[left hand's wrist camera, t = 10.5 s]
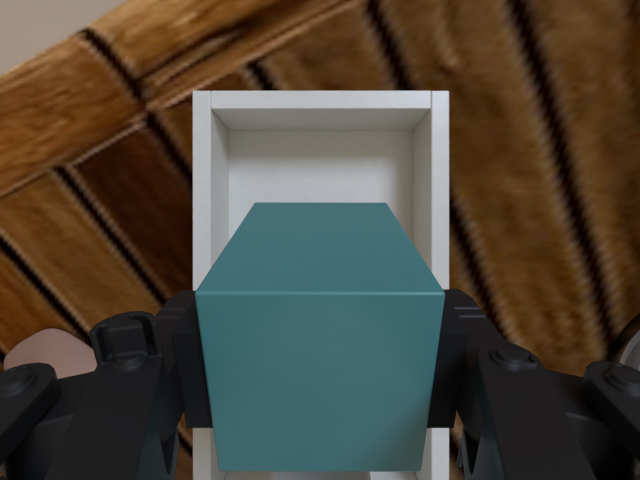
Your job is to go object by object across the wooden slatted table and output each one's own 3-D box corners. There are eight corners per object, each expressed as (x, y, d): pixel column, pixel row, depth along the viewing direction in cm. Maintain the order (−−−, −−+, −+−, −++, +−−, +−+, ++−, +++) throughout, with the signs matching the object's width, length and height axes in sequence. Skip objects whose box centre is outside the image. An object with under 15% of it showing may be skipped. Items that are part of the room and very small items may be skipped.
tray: (217, 120, 25) (192, 90, 20) (423, 120, 25) (449, 90, 20) (218, 472, 25) (192, 531, 20) (423, 472, 25) (449, 531, 20)
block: (387, 202, 14) (447, 292, 7) (379, 316, 15) (422, 473, 9) (254, 201, 14) (192, 292, 7) (261, 316, 16) (217, 472, 9)
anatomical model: (-14, 339, 28) (126, 402, 30) (25, 311, 32) (147, 369, 34) (-55, 445, 32) (72, 493, 34) (-16, 409, 36) (96, 455, 38)
